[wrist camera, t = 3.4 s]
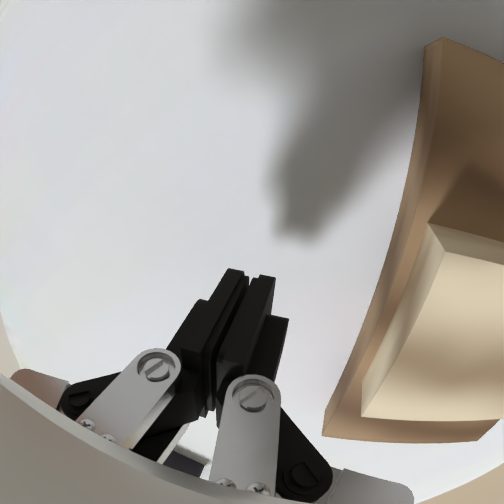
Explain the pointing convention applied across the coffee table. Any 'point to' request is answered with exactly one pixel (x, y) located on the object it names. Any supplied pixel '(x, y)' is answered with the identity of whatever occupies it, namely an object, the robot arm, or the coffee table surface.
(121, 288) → the coffee table surface
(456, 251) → the oak tile
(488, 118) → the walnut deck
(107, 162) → the coffee table surface
